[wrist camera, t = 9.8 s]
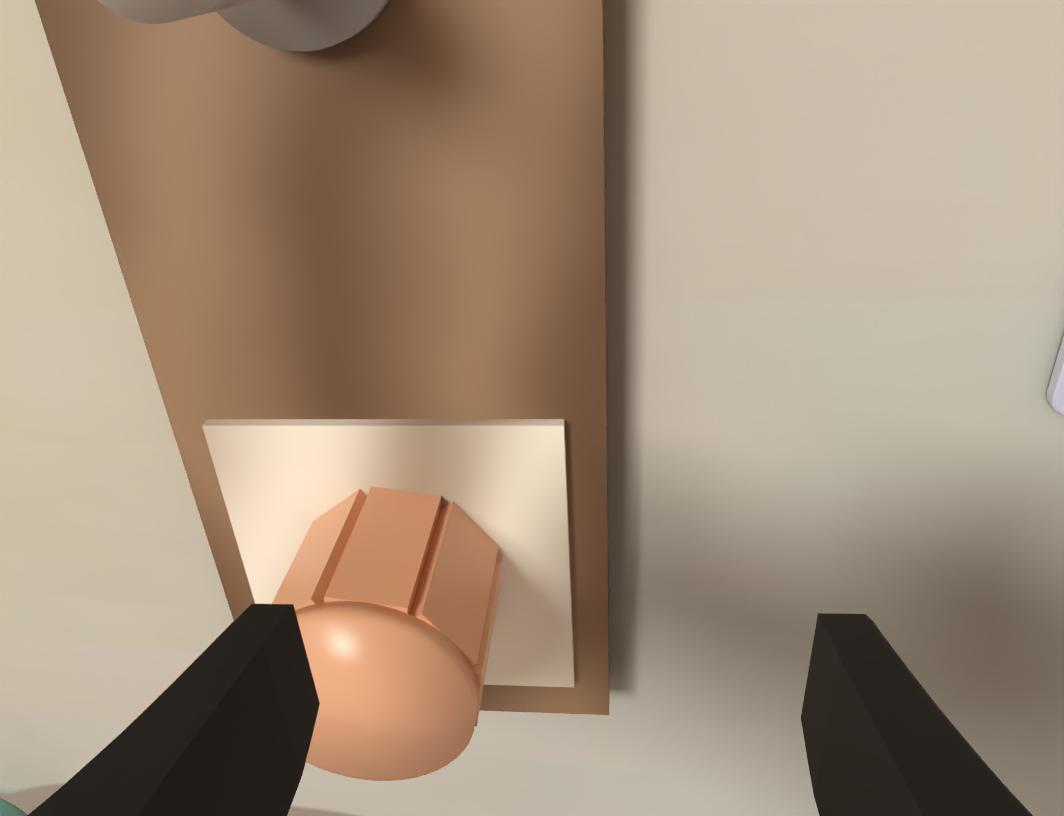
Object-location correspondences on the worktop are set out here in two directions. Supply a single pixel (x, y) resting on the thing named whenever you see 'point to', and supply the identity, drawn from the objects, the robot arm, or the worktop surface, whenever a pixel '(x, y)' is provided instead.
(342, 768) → the cap
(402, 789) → the worktop surface
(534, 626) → the board
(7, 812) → the cupcake
